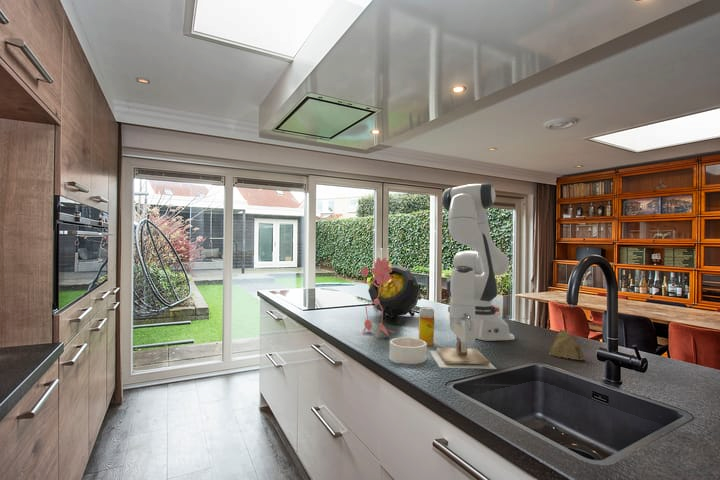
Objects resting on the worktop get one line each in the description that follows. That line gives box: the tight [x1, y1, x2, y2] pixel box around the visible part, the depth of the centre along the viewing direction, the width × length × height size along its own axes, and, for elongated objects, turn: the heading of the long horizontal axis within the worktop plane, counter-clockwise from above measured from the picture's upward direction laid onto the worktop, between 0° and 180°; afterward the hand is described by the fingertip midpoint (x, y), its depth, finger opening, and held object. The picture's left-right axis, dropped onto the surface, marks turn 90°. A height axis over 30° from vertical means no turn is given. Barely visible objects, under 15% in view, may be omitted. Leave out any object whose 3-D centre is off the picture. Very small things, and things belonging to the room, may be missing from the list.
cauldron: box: [368, 264, 422, 321], centre depth 209 cm, size 28×28×24 cm
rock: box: [548, 328, 585, 361], centre depth 139 cm, size 11×9×10 cm
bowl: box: [388, 337, 428, 365], centre depth 133 cm, size 13×13×6 cm
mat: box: [429, 350, 497, 370], centre depth 133 cm, size 19×19×1 cm
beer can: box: [418, 306, 435, 346], centre depth 153 cm, size 6×6×15 cm
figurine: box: [360, 256, 399, 339], centre depth 169 cm, size 15×26×35 cm, turn 39°
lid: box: [435, 341, 491, 364], centre depth 133 cm, size 15×15×5 cm
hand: (461, 349), depth 133 cm, fingers closed on lid, 3 cm apart
